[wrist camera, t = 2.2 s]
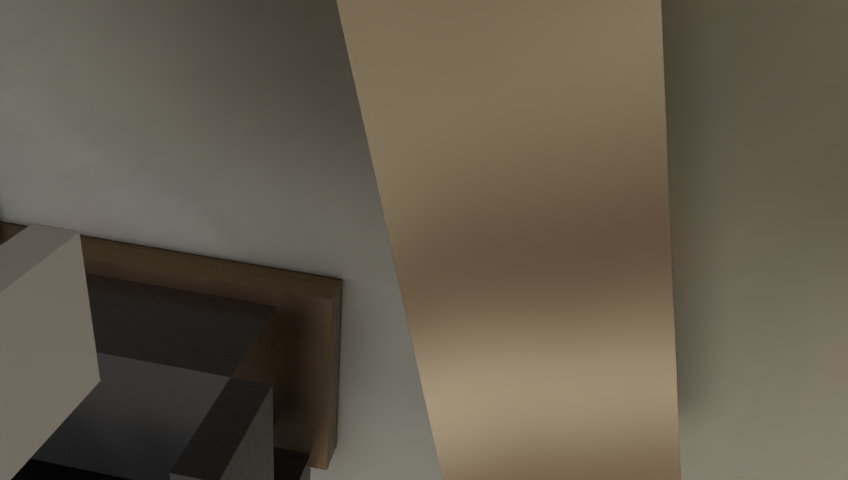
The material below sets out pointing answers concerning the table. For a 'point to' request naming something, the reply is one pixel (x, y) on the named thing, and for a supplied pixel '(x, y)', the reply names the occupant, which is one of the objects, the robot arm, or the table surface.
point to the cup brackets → (199, 371)
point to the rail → (528, 227)
